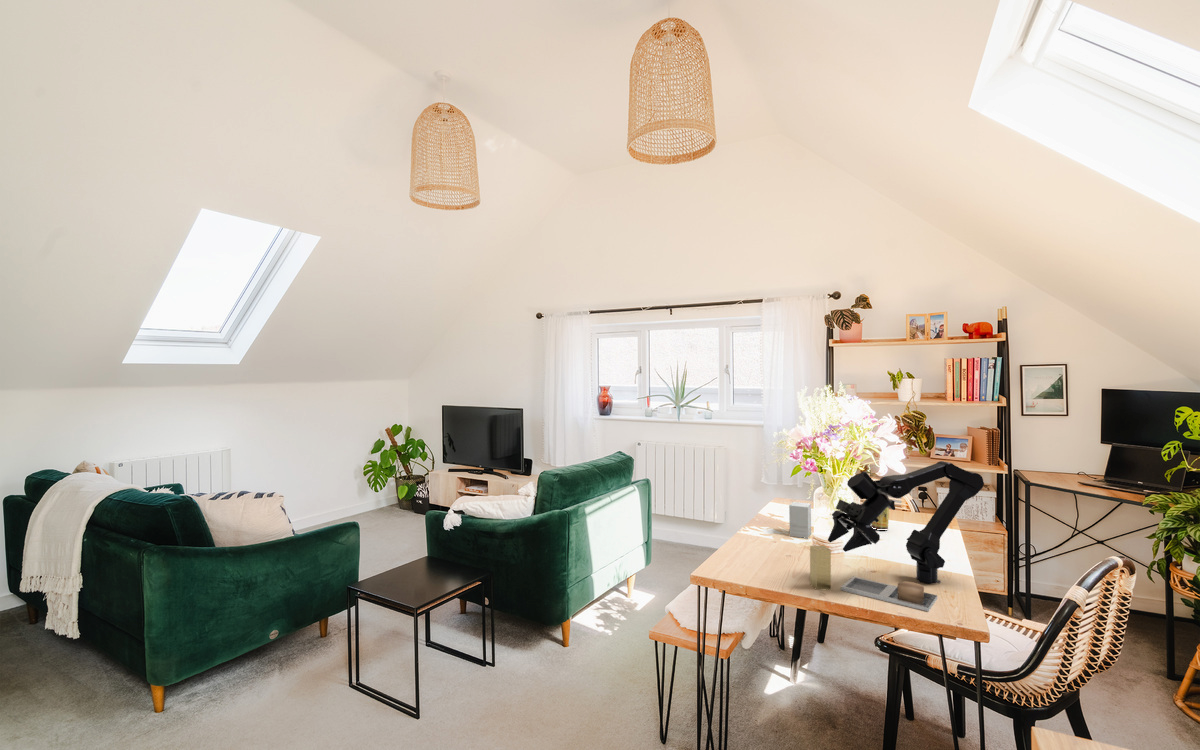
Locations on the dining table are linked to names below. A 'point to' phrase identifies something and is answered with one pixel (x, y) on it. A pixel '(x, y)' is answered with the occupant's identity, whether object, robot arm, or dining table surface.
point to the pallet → (884, 593)
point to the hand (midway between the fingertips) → (836, 545)
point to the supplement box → (800, 519)
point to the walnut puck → (911, 592)
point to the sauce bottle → (882, 518)
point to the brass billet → (820, 567)
